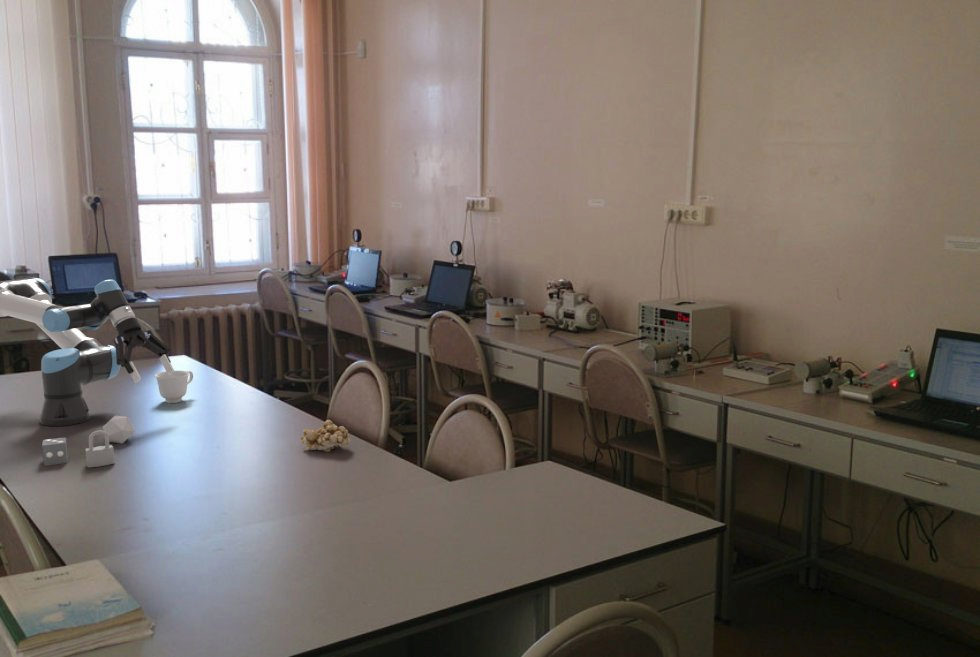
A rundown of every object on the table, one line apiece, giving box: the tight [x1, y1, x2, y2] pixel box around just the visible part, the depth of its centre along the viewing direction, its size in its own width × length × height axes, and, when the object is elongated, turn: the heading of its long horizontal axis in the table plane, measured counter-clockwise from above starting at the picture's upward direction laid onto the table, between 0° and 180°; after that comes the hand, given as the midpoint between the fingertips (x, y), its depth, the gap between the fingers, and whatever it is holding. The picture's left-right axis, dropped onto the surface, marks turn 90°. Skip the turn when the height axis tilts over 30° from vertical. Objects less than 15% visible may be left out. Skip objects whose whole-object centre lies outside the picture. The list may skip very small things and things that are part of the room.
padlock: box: [84, 430, 116, 469], centre depth 258 cm, size 7×4×10 cm, turn 121°
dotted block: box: [41, 437, 68, 466], centre depth 261 cm, size 6×6×6 cm
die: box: [102, 415, 136, 444], centre depth 280 cm, size 8×9×10 cm
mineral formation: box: [299, 419, 351, 453], centre depth 272 cm, size 8×13×15 cm
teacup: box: [154, 370, 194, 404], centre depth 330 cm, size 12×15×10 cm
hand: (155, 376), depth 300 cm, fingers open, 13 cm apart
